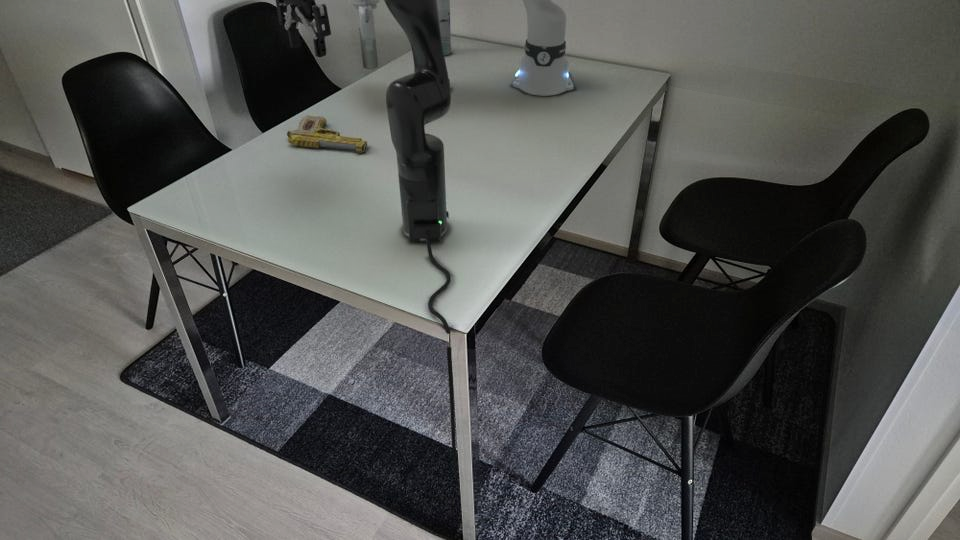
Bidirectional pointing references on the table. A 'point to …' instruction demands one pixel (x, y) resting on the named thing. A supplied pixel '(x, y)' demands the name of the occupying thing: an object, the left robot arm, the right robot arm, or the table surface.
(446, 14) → the spray paint can
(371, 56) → the can
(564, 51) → the right robot arm
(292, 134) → the handgun
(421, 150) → the left robot arm
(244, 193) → the table surface
